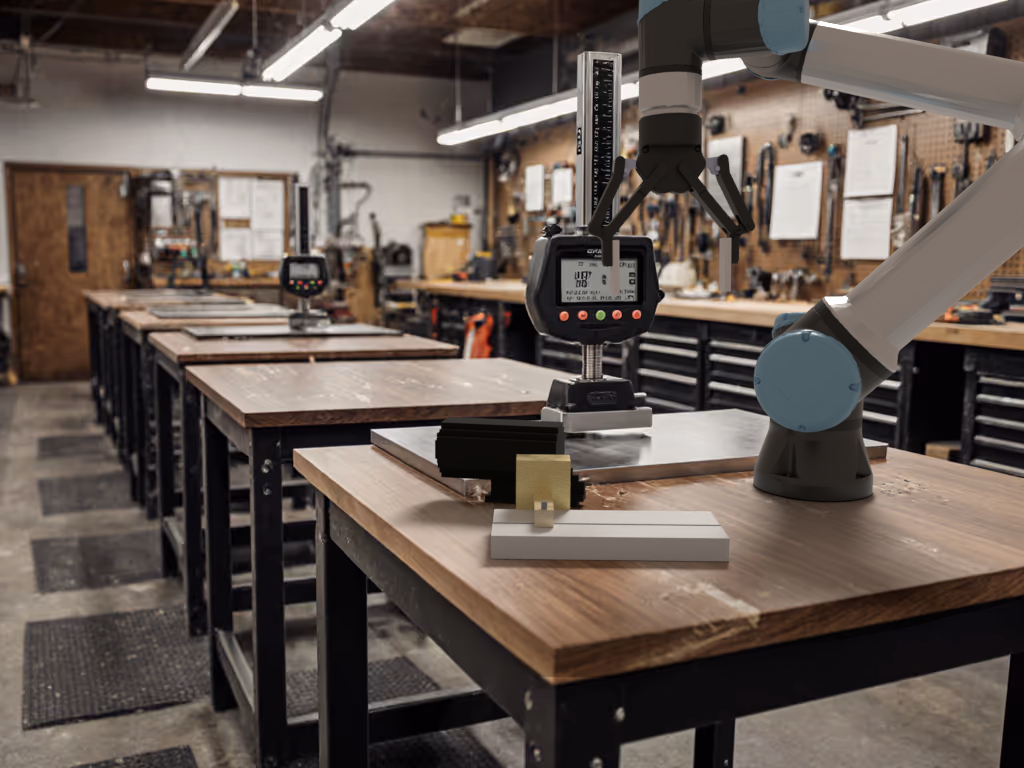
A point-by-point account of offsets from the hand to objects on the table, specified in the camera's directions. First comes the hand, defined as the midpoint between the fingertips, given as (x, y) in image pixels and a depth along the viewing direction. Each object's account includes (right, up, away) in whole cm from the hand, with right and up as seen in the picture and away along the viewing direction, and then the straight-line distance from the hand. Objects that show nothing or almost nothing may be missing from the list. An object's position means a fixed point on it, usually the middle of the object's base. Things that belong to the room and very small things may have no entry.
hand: (670, 293), depth 116 cm
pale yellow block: (-16, -28, -12) cm, 34 cm away
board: (-9, -28, -16) cm, 34 cm away
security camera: (-20, -26, +2) cm, 33 cm away
